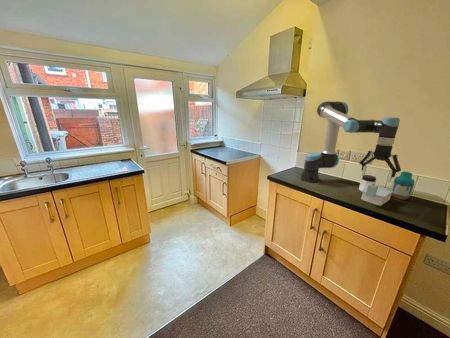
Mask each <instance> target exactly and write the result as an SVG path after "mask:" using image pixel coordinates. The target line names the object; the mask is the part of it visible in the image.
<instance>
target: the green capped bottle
mask: <svg viewBox="0 0 450 338" xmlns="http://www.w3.org/2000/svg"><path fill="white" fill-rule="evenodd" d="M400 172H401V173H400V175H399V176H395V177H394V179H393V182H392V184H391V188H390V190H392V191H394V192H393V193H392V194H391V197H393V198H394V199H397V200H403V201H405V200H408V199H409V198H410V197H411V195H412V193H413V190H414V187H415V179H414V178H412V177H413V173H412V172H410V171H400Z"/></svg>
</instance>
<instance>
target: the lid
mask: <svg viewBox="0 0 450 338" xmlns="http://www.w3.org/2000/svg"><path fill="white" fill-rule="evenodd" d="M360 192H361V193H362V194H363V193H366V196H369V197H372V198H373V197H375V196H376V197H379V198H382V199H383V198H385V197H387V196H388V195H390V194H391V193H393V192H394V191H392V190H391V189H387V188H384V187H380V186H379V185H376V184H375V185H372V184H370V185H368V188H366V189H364V190H362V191H361V190H360Z"/></svg>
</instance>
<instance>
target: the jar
mask: <svg viewBox="0 0 450 338" xmlns="http://www.w3.org/2000/svg"><path fill="white" fill-rule="evenodd" d="M376 181H377V177H376V176H373V175H371V174H365V175H364V176H362V177H361V180H360V183H359V186H358V187H359V188H358V190H359V191H360V192H361V191H362V190H364V189H366V188H368V185H370V184H372V185H376Z"/></svg>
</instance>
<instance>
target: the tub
mask: <svg viewBox="0 0 450 338" xmlns="http://www.w3.org/2000/svg"><path fill="white" fill-rule="evenodd" d="M391 194H392V193H391ZM391 194H390V195H388V196H387V197H385V198H383V199H382V198H379V197H376V196H375V197H373V198H372V197H369V196H366V193H363V192H362V195H361V198H360V200H362V201H365V202H367V203H370V204H374V205H377V206H379V207H381V206H383V205H384V204H385V203H388V201H390V200H391V198H392V195H391Z"/></svg>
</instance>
